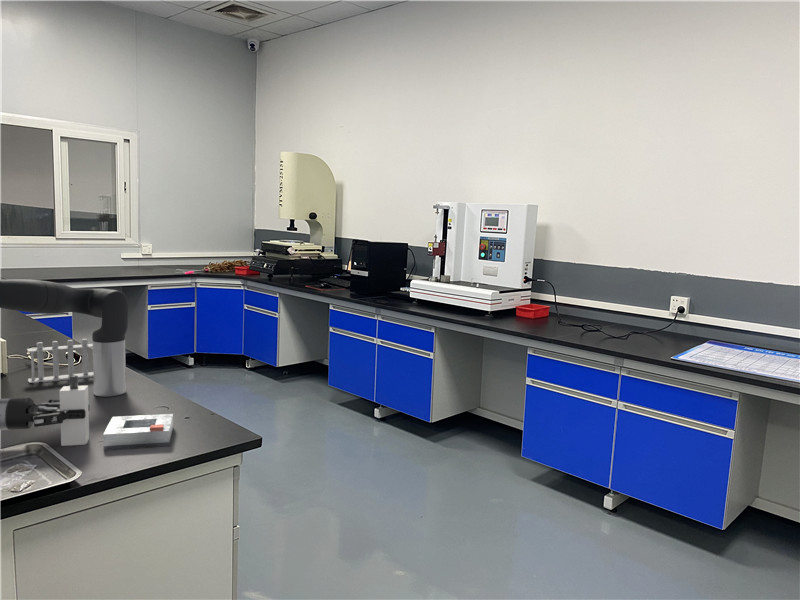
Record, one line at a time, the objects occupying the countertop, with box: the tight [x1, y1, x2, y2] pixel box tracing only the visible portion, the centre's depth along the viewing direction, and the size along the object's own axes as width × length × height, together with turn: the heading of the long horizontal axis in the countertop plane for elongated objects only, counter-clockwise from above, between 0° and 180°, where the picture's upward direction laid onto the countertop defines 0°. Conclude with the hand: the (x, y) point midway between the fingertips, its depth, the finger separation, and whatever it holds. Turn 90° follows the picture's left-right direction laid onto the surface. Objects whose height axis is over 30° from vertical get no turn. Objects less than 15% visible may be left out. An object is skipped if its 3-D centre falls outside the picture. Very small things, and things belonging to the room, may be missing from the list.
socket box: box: [102, 413, 174, 451], centre depth 153 cm, size 13×15×5 cm
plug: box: [59, 375, 90, 447], centre depth 148 cm, size 4×6×17 cm
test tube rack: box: [26, 338, 93, 384], centre depth 203 cm, size 25×4×13 cm, turn 126°
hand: (86, 410), depth 149 cm, fingers closed on plug, 4 cm apart
